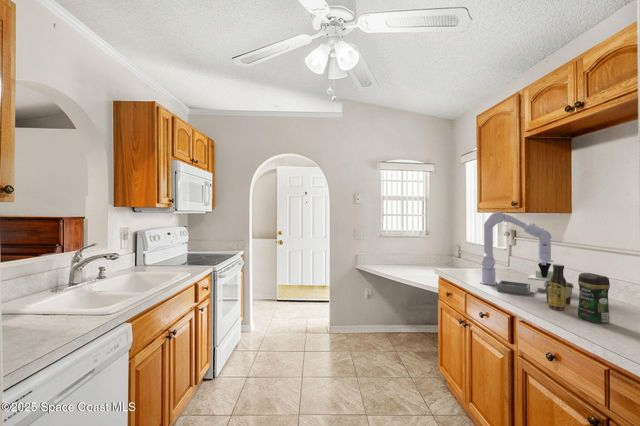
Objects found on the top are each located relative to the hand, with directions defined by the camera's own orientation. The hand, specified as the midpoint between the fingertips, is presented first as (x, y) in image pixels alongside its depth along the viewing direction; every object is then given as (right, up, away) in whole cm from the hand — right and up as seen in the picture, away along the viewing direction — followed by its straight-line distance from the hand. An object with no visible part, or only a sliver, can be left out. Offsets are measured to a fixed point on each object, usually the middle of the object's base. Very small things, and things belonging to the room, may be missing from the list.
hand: (544, 276), depth 181 cm
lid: (0, -1, 0) cm, 1 cm away
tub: (-19, -7, -4) cm, 21 cm away
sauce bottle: (-20, -8, -37) cm, 42 cm away
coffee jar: (-17, -8, -52) cm, 55 cm away
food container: (-13, -8, -26) cm, 31 cm away
